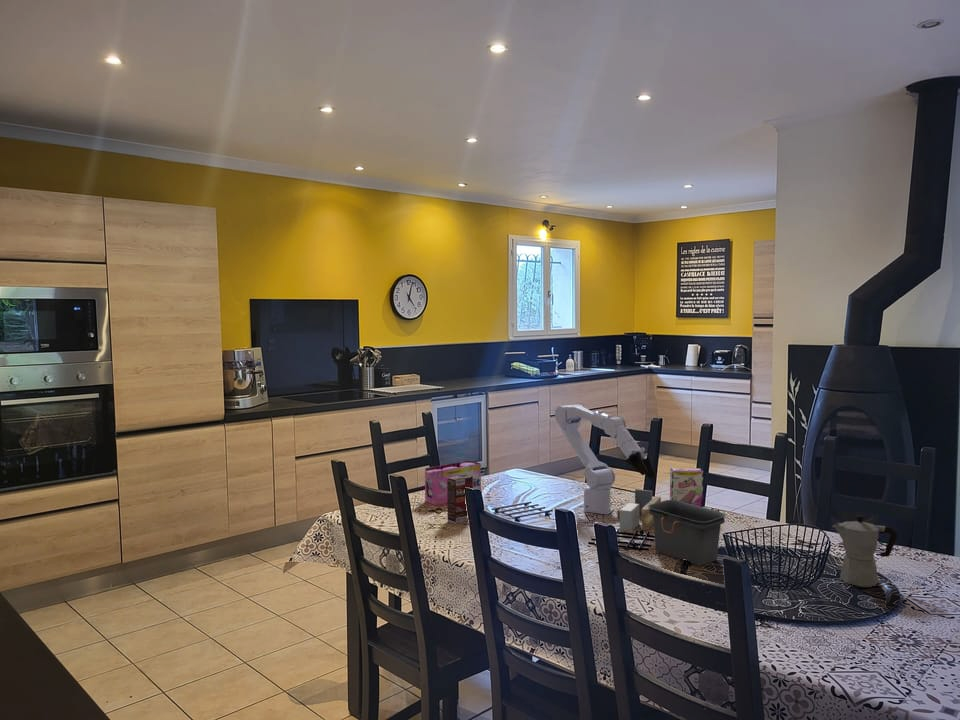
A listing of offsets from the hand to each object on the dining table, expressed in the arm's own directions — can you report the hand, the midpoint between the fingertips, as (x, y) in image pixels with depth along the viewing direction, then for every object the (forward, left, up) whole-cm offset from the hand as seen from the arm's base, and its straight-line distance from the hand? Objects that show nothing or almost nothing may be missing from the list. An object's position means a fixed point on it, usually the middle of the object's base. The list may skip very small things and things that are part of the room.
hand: (649, 475), depth 234 cm
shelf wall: (-1, +6, -18) cm, 19 cm away
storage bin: (+17, -24, -18) cm, 35 cm away
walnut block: (-11, +8, -18) cm, 22 cm away
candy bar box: (+8, +22, -18) cm, 29 cm away
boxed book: (-6, -2, -18) cm, 19 cm away
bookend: (-6, +14, -18) cm, 23 cm away
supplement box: (-62, -21, -18) cm, 68 cm away
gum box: (-80, +3, -18) cm, 82 cm away
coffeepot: (+64, -22, -18) cm, 70 cm away
